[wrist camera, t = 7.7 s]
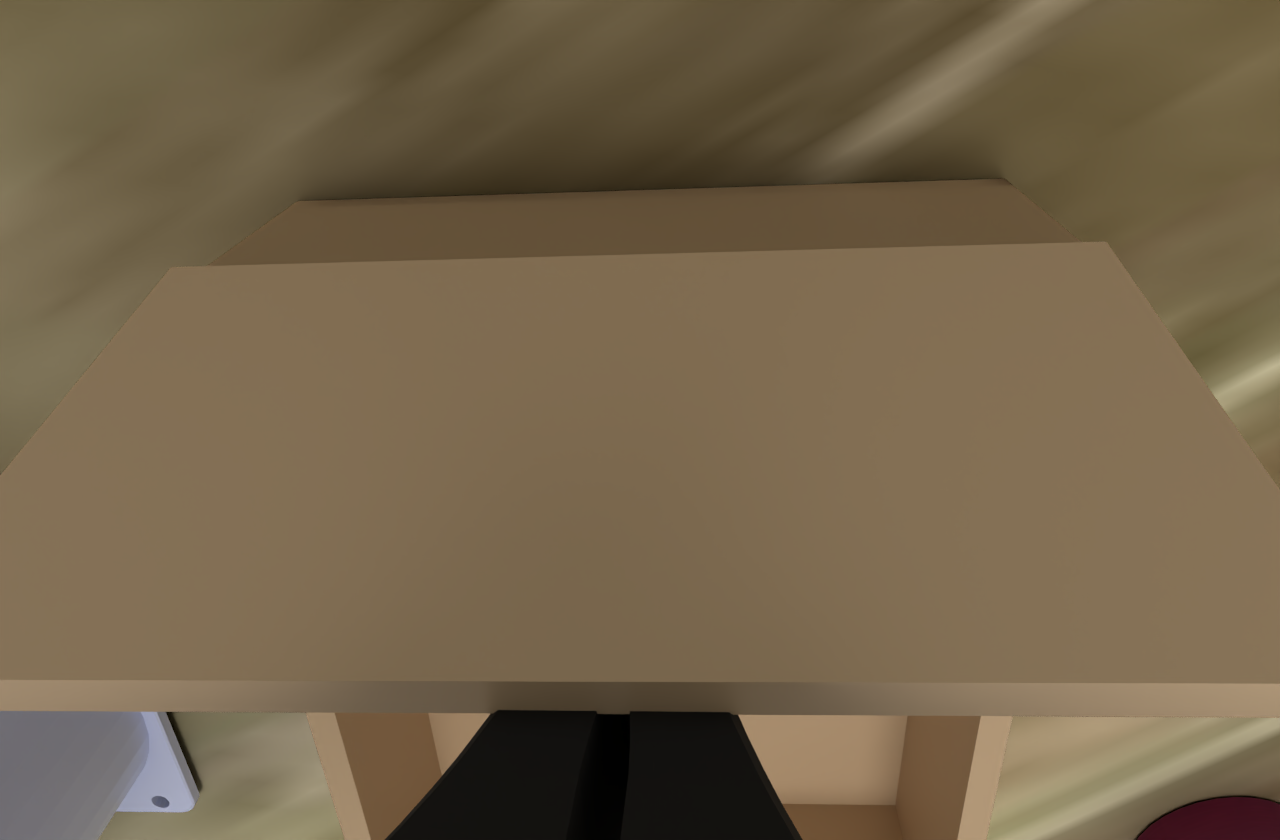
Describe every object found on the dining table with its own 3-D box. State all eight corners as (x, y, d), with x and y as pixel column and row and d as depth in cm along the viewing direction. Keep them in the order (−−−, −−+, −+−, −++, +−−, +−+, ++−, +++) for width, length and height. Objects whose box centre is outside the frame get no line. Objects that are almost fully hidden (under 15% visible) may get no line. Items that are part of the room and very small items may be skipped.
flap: (-133, 710, 8) (-168, 679, 8) (184, 295, 14) (170, 267, 13) (1384, 718, 8) (1414, 683, 7) (1096, 272, 13) (1106, 242, 13)
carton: (434, 799, 27) (384, 968, 23) (297, 201, 18) (174, 289, 14) (911, 804, 26) (955, 982, 22) (1004, 178, 17) (1109, 265, 13)
